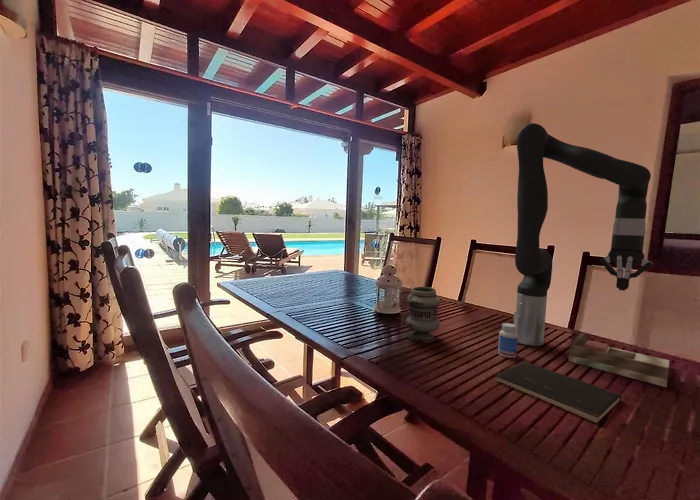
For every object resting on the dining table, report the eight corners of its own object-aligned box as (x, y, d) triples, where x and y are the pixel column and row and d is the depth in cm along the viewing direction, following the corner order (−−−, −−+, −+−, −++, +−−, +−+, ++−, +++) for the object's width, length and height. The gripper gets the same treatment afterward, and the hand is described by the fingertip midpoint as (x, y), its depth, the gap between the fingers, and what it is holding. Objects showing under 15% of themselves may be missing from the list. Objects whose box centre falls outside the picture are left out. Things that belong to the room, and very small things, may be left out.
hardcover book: (597, 426, 70) (598, 416, 70) (494, 383, 89) (494, 374, 88) (620, 402, 80) (621, 393, 80) (523, 368, 98) (524, 360, 98)
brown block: (583, 356, 101) (584, 344, 100) (586, 352, 104) (587, 340, 104) (604, 361, 97) (605, 348, 97) (606, 357, 101) (607, 344, 100)
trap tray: (568, 361, 102) (569, 345, 102) (580, 346, 115) (582, 332, 115) (666, 387, 87) (668, 368, 86) (668, 366, 100) (670, 350, 99)
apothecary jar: (403, 341, 116) (405, 290, 114) (406, 330, 128) (407, 284, 126) (439, 345, 113) (441, 293, 112) (438, 333, 125) (440, 286, 123)
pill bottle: (518, 359, 103) (521, 328, 102) (500, 357, 104) (502, 327, 103) (513, 352, 108) (515, 323, 108) (496, 350, 110) (498, 321, 109)
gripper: (598, 232, 103) (593, 288, 104) (656, 235, 93) (649, 295, 95) (603, 232, 108) (598, 285, 109) (658, 234, 98) (652, 292, 100)
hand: (622, 290), depth 102 cm, fingers closed
